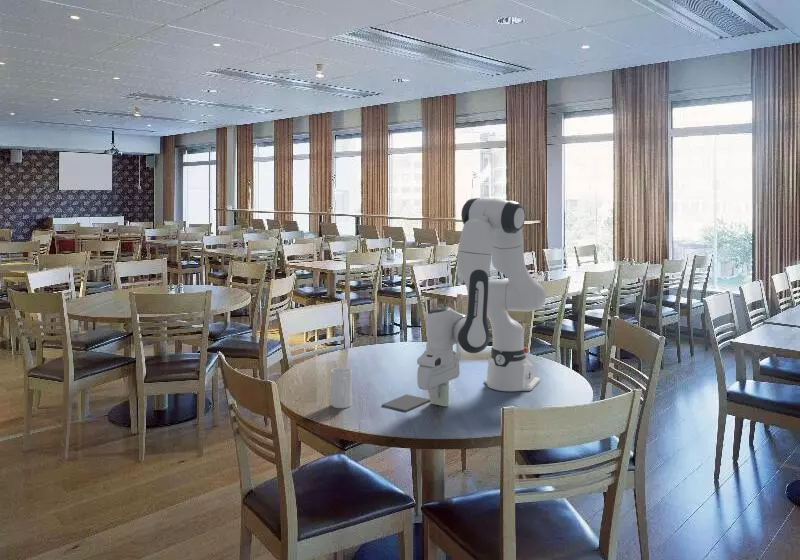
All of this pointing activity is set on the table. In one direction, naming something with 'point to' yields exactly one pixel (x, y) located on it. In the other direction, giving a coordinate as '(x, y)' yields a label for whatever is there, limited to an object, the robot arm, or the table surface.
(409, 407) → the mat
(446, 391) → the block
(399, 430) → the table surface
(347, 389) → the mug
